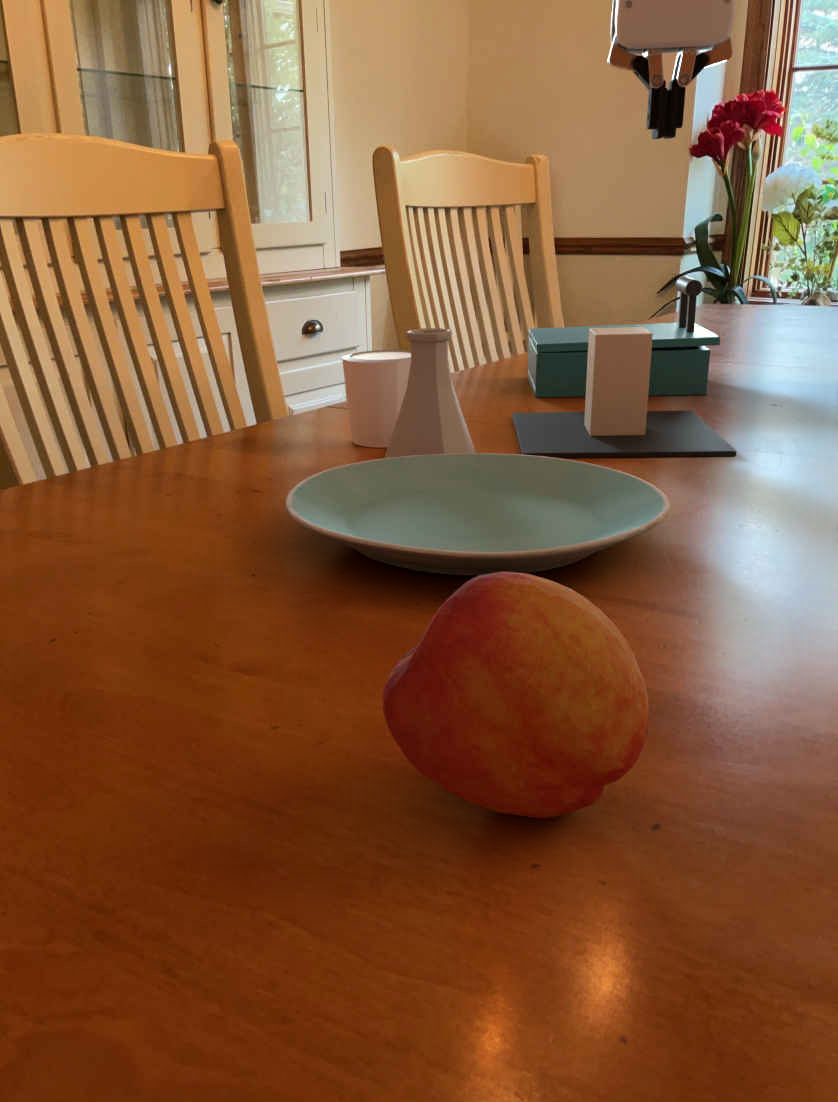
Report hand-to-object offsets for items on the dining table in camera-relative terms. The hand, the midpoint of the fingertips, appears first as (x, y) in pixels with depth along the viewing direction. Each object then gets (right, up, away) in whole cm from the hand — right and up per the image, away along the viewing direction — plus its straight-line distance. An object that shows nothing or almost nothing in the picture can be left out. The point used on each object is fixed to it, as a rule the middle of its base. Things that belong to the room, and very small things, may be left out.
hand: (663, 137), depth 95 cm
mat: (-7, -29, -8) cm, 31 cm away
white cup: (-26, -29, -8) cm, 40 cm away
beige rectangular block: (-7, -28, -9) cm, 30 cm away
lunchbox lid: (-1, -15, +11) cm, 19 cm away
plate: (-21, -40, -33) cm, 56 cm away
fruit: (-22, -51, -60) cm, 82 cm away
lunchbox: (-2, -20, +13) cm, 24 cm away
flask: (-22, -33, -17) cm, 44 cm away
